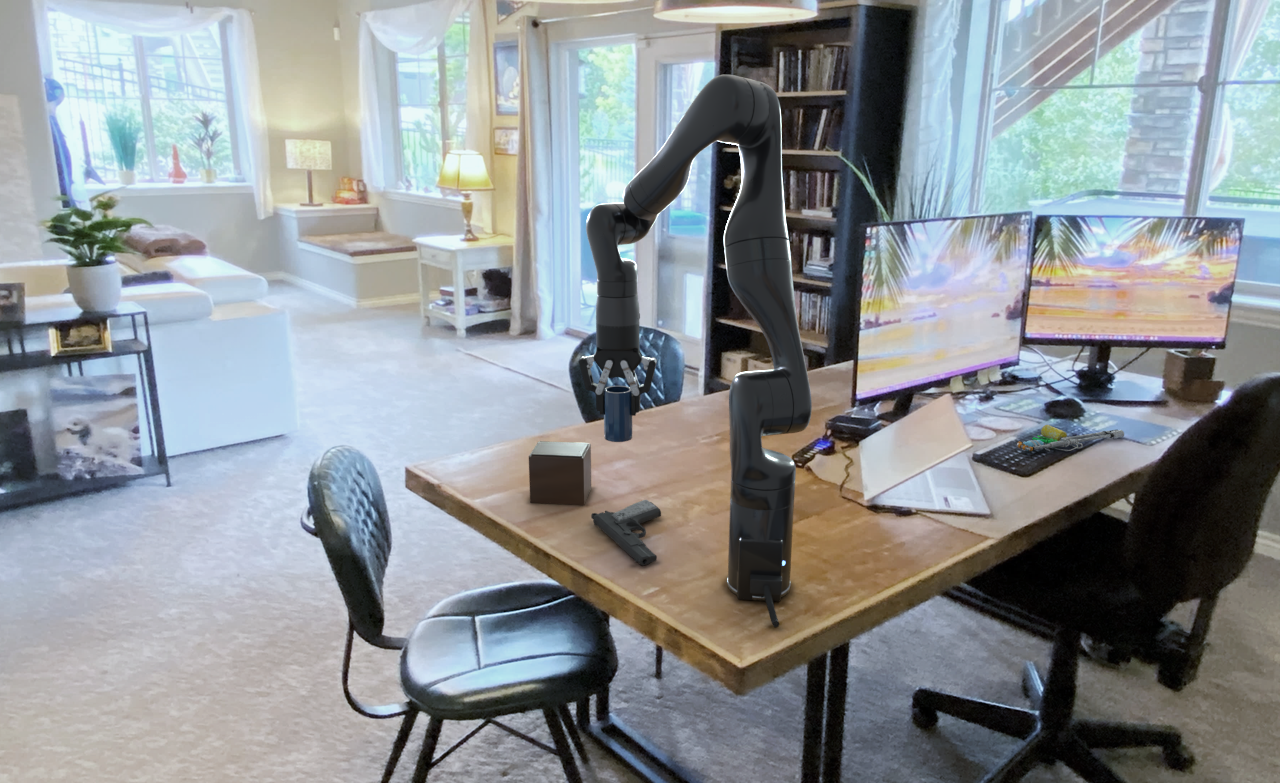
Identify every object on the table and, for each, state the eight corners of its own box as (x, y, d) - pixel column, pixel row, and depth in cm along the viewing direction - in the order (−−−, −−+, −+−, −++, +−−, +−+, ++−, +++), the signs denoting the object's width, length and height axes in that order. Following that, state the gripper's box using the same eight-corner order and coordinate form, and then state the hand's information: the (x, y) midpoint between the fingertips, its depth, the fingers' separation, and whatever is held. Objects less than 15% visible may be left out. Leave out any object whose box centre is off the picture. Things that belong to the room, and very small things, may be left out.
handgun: (647, 509, 165) (586, 521, 160) (647, 497, 164) (586, 509, 159) (702, 554, 150) (637, 570, 144) (703, 541, 149) (637, 556, 143)
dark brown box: (584, 505, 167) (583, 457, 165) (530, 502, 168) (528, 454, 166) (591, 488, 175) (590, 442, 172) (539, 486, 176) (538, 440, 173)
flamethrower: (998, 443, 198) (1035, 460, 190) (1000, 431, 198) (1037, 448, 189) (1093, 427, 211) (1131, 442, 202) (1095, 416, 210) (1134, 431, 201)
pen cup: (630, 442, 163) (630, 393, 161) (602, 441, 164) (601, 392, 161) (633, 433, 168) (633, 386, 166) (606, 432, 169) (606, 385, 166)
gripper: (572, 323, 157) (574, 419, 162) (656, 325, 156) (656, 421, 160) (580, 315, 164) (582, 406, 169) (660, 316, 163) (660, 409, 168)
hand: (618, 413), depth 165 cm, fingers closed on pen cup, 5 cm apart
